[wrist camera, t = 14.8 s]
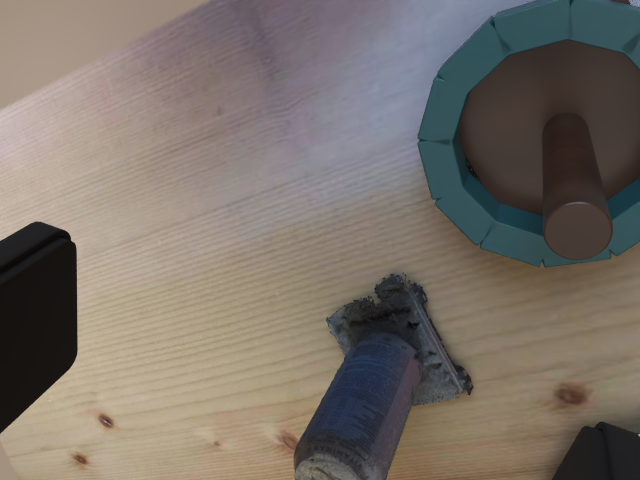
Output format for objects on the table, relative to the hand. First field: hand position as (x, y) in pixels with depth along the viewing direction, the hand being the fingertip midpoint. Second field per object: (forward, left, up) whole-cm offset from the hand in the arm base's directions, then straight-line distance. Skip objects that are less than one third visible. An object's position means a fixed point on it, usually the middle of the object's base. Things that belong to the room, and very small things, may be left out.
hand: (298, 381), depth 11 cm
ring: (+4, +3, -21) cm, 22 cm away
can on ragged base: (+12, -10, -23) cm, 28 cm away
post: (+4, +4, -23) cm, 23 cm away
